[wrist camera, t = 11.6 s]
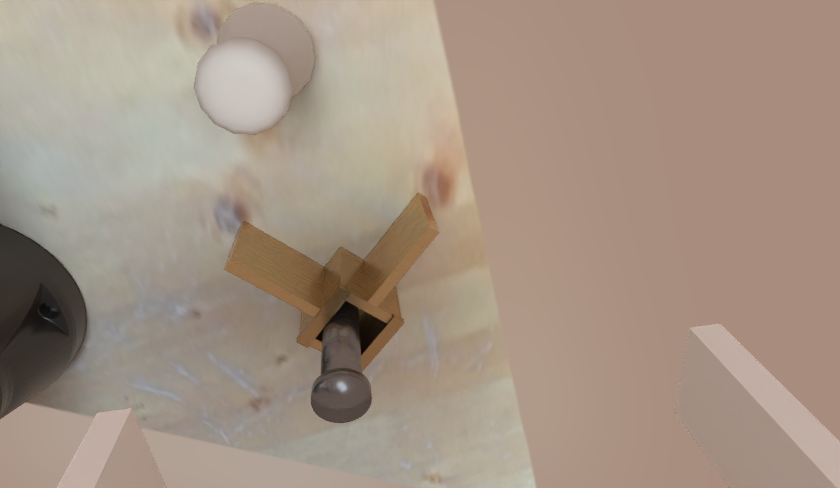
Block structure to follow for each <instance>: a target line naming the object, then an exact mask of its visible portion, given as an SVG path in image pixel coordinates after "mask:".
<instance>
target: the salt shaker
mask: <svg viewBox="0 0 840 488" xmlns="http://www.w3.org/2000/svg"><path fill="white" fill-rule="evenodd" d="M314 62H315V55H314V50H313V45H312V40H311V36H310V35H309V33H308V32H307V30H306V29H305V28H304V26H303V25H302V24H301V22H300V21H299V19H298V18H297V17H296V16H294V15H293V14H291V13H289V12H288V11H286V10H284V9H283V8H281V7H279V6H278V5H276V4H262V3H252V4H249V5H247V6H244V7H242V8H239V9H236V10H234V11H232V12H231V14H230V15H229V16H228V18H227V19H226V21H225V22H224V23H223V25H222V26H221V27H220V29H219V34H218V39H217V44H215V45H212V46H210V48H209V49H208V50H207V52H206V53H205V54H204V56H203V57H202V58H201V60H200V61H199V62H198V66H197V72H196V78H195V84H194V89H195V92H196V95H197V98H198V101H199V104H200V107H201V109H202V110H203V111H204V112H205V113H206V114H207V116H208V117H209V118H210V119H211V120H212V121H213V123H214V124H216V125H218V126H220V127H222V128H224V129H226V130H228V131H230V132H232V133H235V134H250V135H255V134H258V133H260V132H262V131H265V130H267V129H270V128H272V127H274V126H275V125H276V124H277V123H278V122H279V121H280V120H281V119H282V117H283V116H284V115H285V114H286V113H287V112H288V110H289V106H290V101H291V97H293V96H296V95H297V94H298V93H299V92H300V91H301V90H302V88H303V87H304V86H305V85H306V84H307V83H308V81H309V80H310V79H311V74H312V70H313V66H314Z"/></svg>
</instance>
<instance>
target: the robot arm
mask: <svg viewBox="0 0 840 488" xmlns="http://www.w3.org/2000/svg"><path fill="white" fill-rule="evenodd" d="M85 330H86V312H85V307H84V303H83V300H82V297H81V295H80V292H79V290H78V288H77V286H76V284H75V283H74V281H73V279H72V278H71V277H70V275H69V274H68V273H67V271H66V270H65V269H64V268H63V267H62V265H61V264H60V263H59V262H58V261H57V260H56V259H55V258H54V257H53V256H51V255H50V254H49V253H48V252H47V251H46V250H44V249H43V248H42V247H40V246H39V245H37V244H36V243H34V242H33V241H31V240H30V239H28V238H26V237H25V236H23V235H21V234H19V233H17V232H15V231H13V230H11V229H9V228H6V227H4V226H1V225H0V419H1V418H2V417H4V416H5V415H7V414H8V413H10V412H11V411H13V410H14V409H16V408H17V407H19V406H20V405H22V404H23V403H25V402H26V401H28V400H29V399H31V398H32V397H34V396H35V395H37V394H38V393H39V392H41V391H42V390H44V389H45V388H47V387H48V386H49V385H51V384H52V383H53V382H54V381H55V380H56V379H57V378H58V377H59V376H60V375H61V374H62V373H63V372H64V371H65V369H66V368H67V366H68V365H69V363H70V362H71V360H72V359H73V357H74V356H75V354H76V353H77V351H78V350H79V348H80V346H81V344H82V341H83V338H84V335H85ZM675 414H676V415H677V417H678V418H679V419H680V421H681V422H682V424H683V425H684V426H685V428H686V429H687V431H688V432H689V433H690V435H691V436H692V438H693V439H694V440H695V442H696V443H697V444H698V446H699V447H700V449H701V450H702V451H703V453H704V454H705V456H706V457H707V458H708V460H709V461H710V463H711V464H712V465H713V467H714V468H715V470H716V471H717V472H718V474H719V475H720V477H721V478H722V479H723V481H724V482H725V484H726V485H727V486H728V488H840V442H839V441H838V440H837V439H836V438H835V437H834V436H833V435H832V434H831V433H830V432H829V431H828V430H827V429H826V428H825V427H824V426H823V425H822V424H821V423H820V422H819V421H818V420H817V419H816V418H815V417H814V416H813V415H812V414H811V413H810V412H809V411H808V410H807V409H806V408H805V407H804V406H803V405H802V404H801V403H800V402H799V401H798V400H797V399H796V398H795V397H794V396H793V395H792V394H791V393H790V392H789V391H788V390H787V389H786V388H785V387H783V386H782V385H781V384H780V383H779V382H778V381H777V380H776V379H775V378H774V377H773V376H772V375H771V374H770V373H769V372H768V371H767V370H766V369H765V368H764V367H763V366H762V365H761V364H760V363H759V362H758V361H757V360H756V359H755V358H754V357H753V356H752V355H751V354H750V353H749V352H748V351H747V350H746V349H745V348H744V347H743V346H742V345H741V344H740V343H739V342H738V341H737V340H736V339H735V338H734V337H733V336H732V335H731V334H730V333H729V332H728V331H727V330H726V329H725V328H723V326H722V325H721V324H714V325H707V326H700V327H694V328H689V333H688V339H687V345H686V351H685V357H684V362H683V368H682V373H681V380H680V385H679V391H678V397H677V402H676V408H675ZM57 488H166V486H165V483H164V481H163V479H162V477H161V474H160V472H159V470H158V467H157V465H156V463H155V460H154V458H153V456H152V453H151V451H150V449H149V447H148V445H147V442H146V439H145V437H144V435H143V433H142V430H141V428H140V426H139V423H138V421H137V419H136V416H135V414H134V412H133V409H132V408H128V409H121V410H114V411H107V412H100V413H97V414H96V416H95V418H94V419H93V421H92V423H91V425H90V427H89V429H88V431H87V432H86V434H85V436H84V438H83V440H82V442H81V443H80V445H79V447H78V449H77V451H76V453H75V455H74V457H73V458H72V460H71V462H70V464H69V466H68V467H67V469H66V471H65V473H64V475H63V477H62V478H61V480H60V482H59V484H58V486H57Z"/></svg>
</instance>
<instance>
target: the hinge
mask: <svg viewBox="0 0 840 488" xmlns="http://www.w3.org/2000/svg"><path fill="white" fill-rule="evenodd" d="M438 233H439V231H438V229H437V226H436V223H435V220H434V218H433V215H432V212H431V209H430V207H429V204H428V201H427V198H426V197H424V196H423V195H421V194H420V193H417V194H416V196H415V197H414V198H413V199H412V201H411V202H410V203H409V204H408V206H407V207H406V208H405V209H404V211H403V212H402V213H401V215H400V216H399V217H398V218H397V220H396V221H395V222H394V223H393V225H392V226H391V227H390V228H389V230H388V231H387V232H386V233H385V235H384V236H383V237H382V238H381V240H380V241H379V242H378V243H377V245H376V246H375V247H374V248H373V250H372V251H371V252H370V253H369V255H368V256H367V257H366V259H365V260H362V259H361V258H359V257H357V256H356V255H354V254H352V253H350V252H349V251H347V250H345V249H344V248H342V247H340V248H339V249H338V250H337V252H336V253H335V254H334V256H333V257H332V258H331V260H330V261H329V262H328V263H327V265H326V266H325V267H323V266H321V265H320V264H318V263H316V262H314V261H313V260H311V259H309V258H307V257H306V256H304V255H302V254H300V253H299V252H297V251H295V250H293V249H292V248H290V247H288V246H286V245H285V244H283V243H281V242H280V241H278V240H276V239H274V238H273V237H271V236H269V235H267V234H266V233H264V232H262V231H260V230H259V229H257V228H255V227H253V226H252V225H250V224H248V223H246V222H245V221H244V222H243V224H242V225H241V226H240V228H239V229H238V232H237V235H236V238H235V240H234V243H233V246H232V248H231V251H230V254H229V257H228V259H227V262H226V265H225V268H224V270H226V271H228V272H230V273H232V274H233V275H235V276H237V277H239V278H241V279H243V280H245V281H247V282H249V283H250V284H252V285H254V286H256V287H258V288H260V289H262V290H264V291H266V292H267V293H269V294H271V295H273V296H275V297H277V298H279V299H281V300H283V301H285V302H286V303H288V304H290V305H292V306H294V307H296V308H298V309H300V310H302V314H301V324H300V334H299V336H298V337H297V343H299V344H301V345H303V346H305V347H307V348H308V347H309V345H310V346H312V347H313V348H315V349H317V350H319V351H321V352H322V333H323V328H324V327H325V326H326V324H327V323H328V322H329V321H330V319H331V318H332V317H333V316H334V314H335V313H336V312H337V311H338V309H339V308H340V307H341V306H342V304H343V303H344V302H345V301H347V302H349V303H351V304H353V305H355V306H356V307H358V308H360V309H359V310H358V312H359V330H360V348H361V366H362V371H363V370H364V369H365V368H366V367H367V365H368V364H369V363H370V362H371V361H372V360H373V358H374V357H375V356H376V355H377V354H378V353H379V352H380V350H381V349H382V348H383V347H384V346H385V345H386V343H387V342H388V341H389V340H390V339H391V338H392V336H393V335H394V334H395V333H396V332H397V331H398V330H399V328H400V327H401V326H402V325H403V324H404V319H403V318H401V314H400V308H399V302H398V296H397V290H396V284H397V283H398V281H399V280H400V279H401V278H402V277H403V275H404V274H405V273H406V272H407V271H408V269H409V268H410V267H411V266H412V265H413V263H414V262H415V261H416V260H417V259H418V257H419V256H420V255H421V254H422V253H423V251H424V250H425V249H426V248H427V247H428V245H429V244H430V243H431V242H432V241H433V239H434V238H435V237H436V236H437V235H438Z"/></svg>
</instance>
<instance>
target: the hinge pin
mask: <svg viewBox="0 0 840 488" xmlns="http://www.w3.org/2000/svg"><path fill="white" fill-rule="evenodd" d="M371 400H372V397H371V386H370V383H369V381H368V379H367V378H366V377H365V376H364V375H363V374H362V366H361V348H360V330H359V312H358V307H356V306H355V305H353V304H351V303H349V302H347V301H345V302H344V303H343V304H342V306H341V307H340V308H339V309H338V311H337V312H336V313H335V314H334V316H333V317H332V318H331V319H330V321H329V322H328V323H327V324H326V326H325V327H324V328H323V333H322V356H321V375H320V376H319V377H318V378H317V379H316V381H315V382H314V384H313V387H312V393H311V405H312V408H313V410H314V412H315V413H316V414H317V415H318V416H319V417H321V418H322V419H324V420H326V421H329V422H334V423H345V422H350V421H353V420H356V419H358V418H359V417H361V416H362V415H364V414H365V413H366V412H367V410H368V409H369V407H370V405H371Z"/></svg>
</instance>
